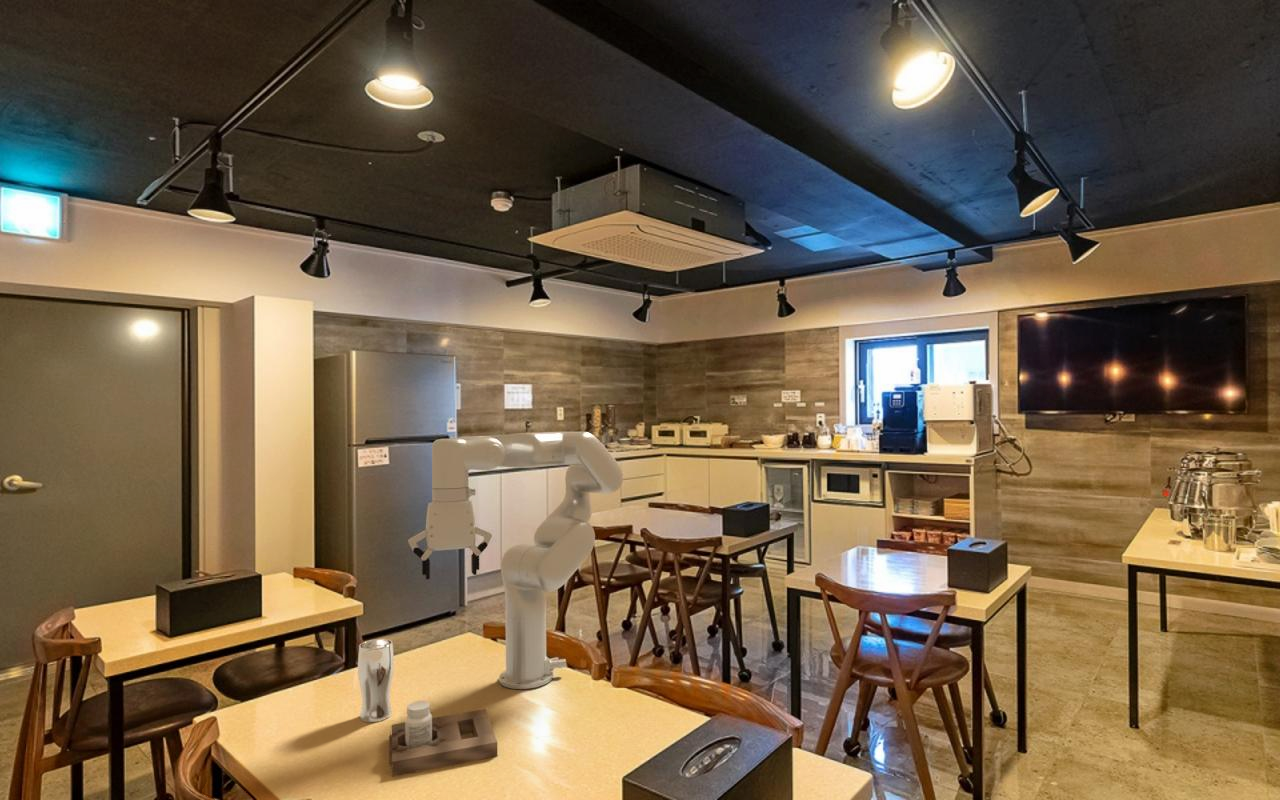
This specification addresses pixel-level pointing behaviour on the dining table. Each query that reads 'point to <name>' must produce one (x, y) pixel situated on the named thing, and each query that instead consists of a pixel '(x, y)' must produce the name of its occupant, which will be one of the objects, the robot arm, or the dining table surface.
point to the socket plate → (444, 743)
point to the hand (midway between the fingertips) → (451, 575)
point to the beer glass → (375, 678)
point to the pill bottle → (418, 724)
